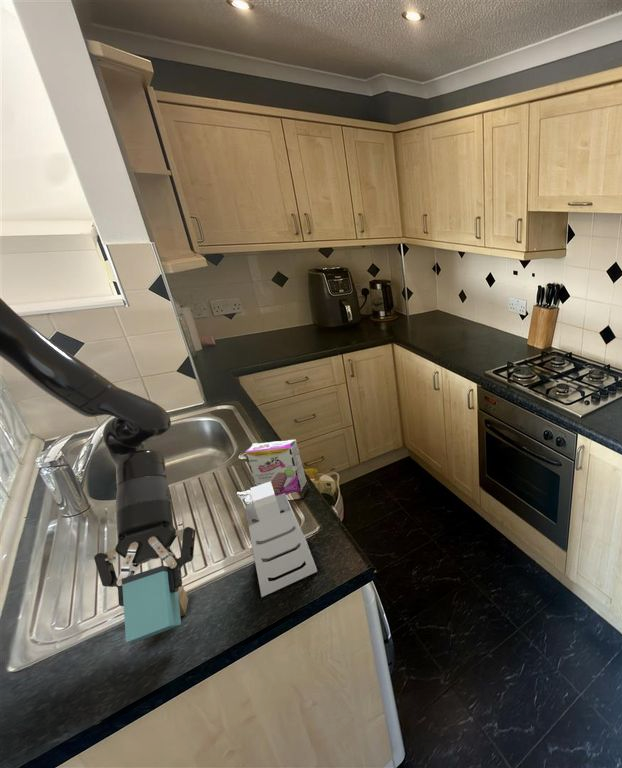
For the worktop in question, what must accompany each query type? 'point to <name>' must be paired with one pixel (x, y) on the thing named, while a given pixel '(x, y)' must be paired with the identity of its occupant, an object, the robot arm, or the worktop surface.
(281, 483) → the candy bar box
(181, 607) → the prop block
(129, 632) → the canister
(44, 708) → the worktop surface
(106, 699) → the worktop surface
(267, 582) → the grater
